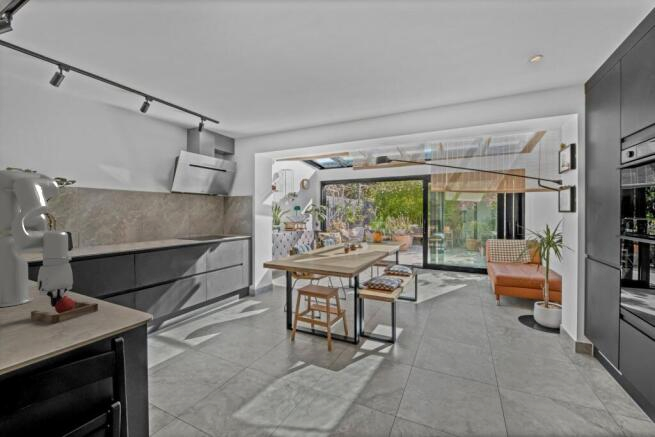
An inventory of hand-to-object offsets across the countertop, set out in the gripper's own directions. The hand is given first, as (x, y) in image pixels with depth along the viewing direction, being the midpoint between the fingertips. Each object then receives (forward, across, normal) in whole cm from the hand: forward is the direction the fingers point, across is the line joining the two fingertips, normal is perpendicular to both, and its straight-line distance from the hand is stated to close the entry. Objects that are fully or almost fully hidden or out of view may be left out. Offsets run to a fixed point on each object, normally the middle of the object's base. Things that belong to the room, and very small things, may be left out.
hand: (56, 306), depth 118 cm
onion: (+3, 0, +6) cm, 6 cm away
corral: (+3, 0, +6) cm, 6 cm away
